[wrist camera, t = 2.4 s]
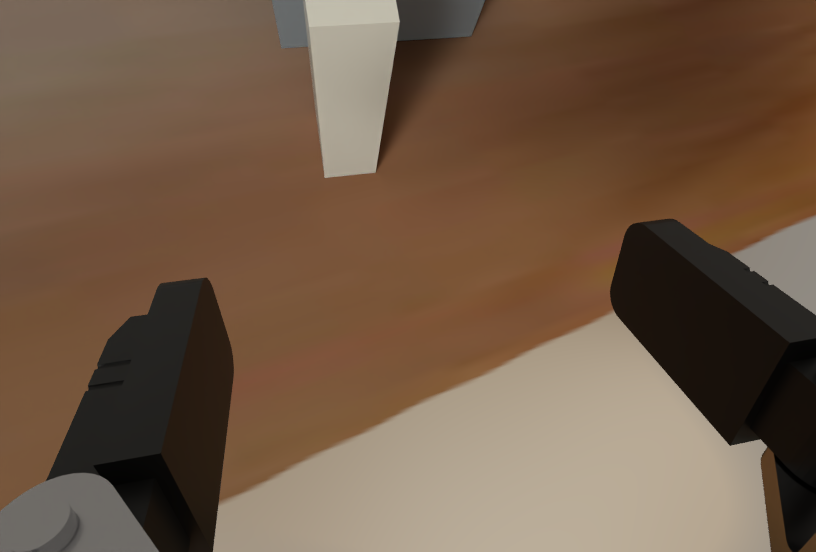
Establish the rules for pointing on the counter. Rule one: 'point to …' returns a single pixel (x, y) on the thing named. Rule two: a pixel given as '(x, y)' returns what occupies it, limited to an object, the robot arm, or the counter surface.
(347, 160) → the cream rectangular block
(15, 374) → the counter surface
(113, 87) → the counter surface
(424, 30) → the grey two-slot holder
